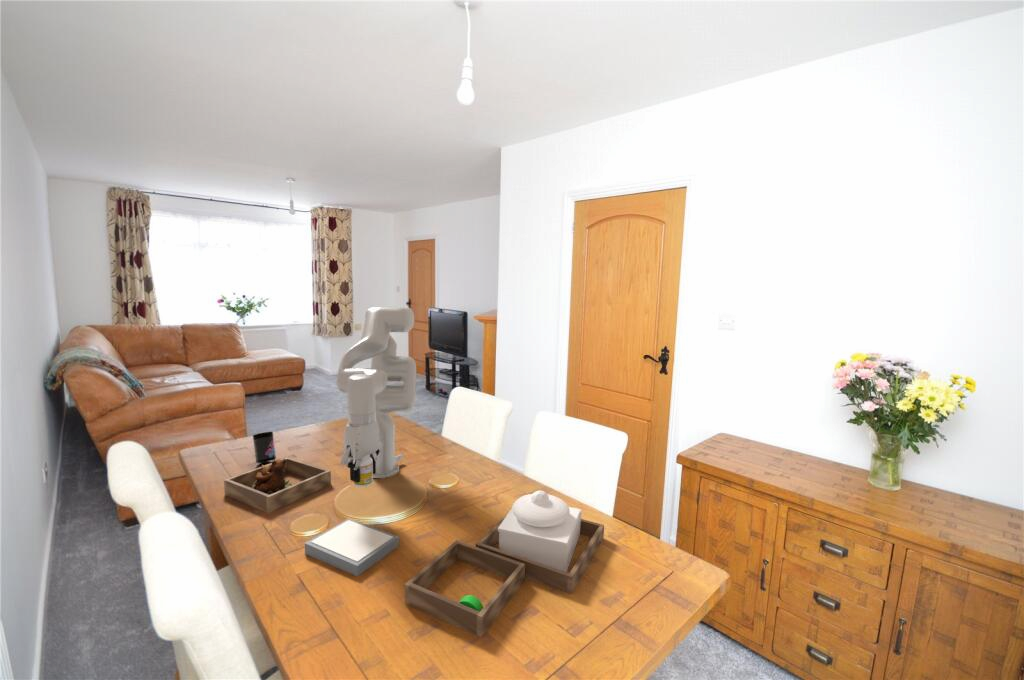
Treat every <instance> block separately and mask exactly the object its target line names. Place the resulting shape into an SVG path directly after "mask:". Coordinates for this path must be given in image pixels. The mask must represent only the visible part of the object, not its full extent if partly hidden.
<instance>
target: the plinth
mask: <svg viewBox="0 0 1024 680" xmlns="http://www.w3.org/2000/svg"><path fill="white" fill-rule="evenodd" d="M398 547H400V536H398V535H396V534H393V533H391V532H388V531H384V530H382V529H379V528H376V527H373V526H371V525H368V524H366V523H364V522H360V521H357V520H355V519H353V518H350V517H349V518H347V519H345V520H343V521H341V522H340V523H338V524H336V525H334V526H332V527H331V528H329V529H327V530H325V531H324V532H322V533H320V534H318V535H317V536H315V537H312V538H311V539H309V540H307V541H306V542H304V554H305V555H307V556H310V557H312V558H314V559H317V560H318V561H321V562H323V563H325V564H327V565H330V566H332V567H334V568H337V569H340V570H342V571H344V572H346V573H348V574H351V575H353V576H355V577H359V576H360V575H362V574H363V573H364V572H366V571H367V570H368V569H369V568H371V567H372V566H374V565H375V564H376V563H378V562H379V561H381V560H382V559H383V558H384V557H386V556H387V555H388V554H390V553H391V552H392V551H394V550H396V549H397V548H398Z"/></svg>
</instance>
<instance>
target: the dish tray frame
mask: <svg viewBox="0 0 1024 680" xmlns="http://www.w3.org/2000/svg"><path fill="white" fill-rule="evenodd" d="M505 517H506V516H504V517H503V518H502V519H501V520H499V522H498V523H497V524H496V525H494V527H492V529H490V530H489V531H488V532H487V533H486V534H484V535H483V536H482V537H481V538H480V540H478V541H477V542H476V543H475V547H478V548H480V549H483V550H486V551H489V552H492V553H495V554H498V555H501V556H503V557H506V558H509V559H512V560H515V561H518V562H521V563H524V564H525V579H526V580H531V581H533V582H536V583H539V584H542V585H544V586H547V587H549V588H553V589H554V590H555V589H556V590H558V591H562V592H563V593H567V594H570V595H572V594H573V592H574V590H575V588H576V587H577V585H578V583H579V582H580V580H581V578H582V576H583V575H584V573H585V571H586V569H587V568H588V566H589V564H590V563H591V561H592V559H593V557H594V556H595V554H596V552H597V551H598V549H599V547H600V546H601V544H602V542H603V540H604V535H605V524H602V523H598V522H594V521H590V520H587V519H583V518H581V528H580V535H582V536H587V537H590V541H588V544H587V545H586V547H585V548H584V550H583V551H582V553H581V554H580V555H579V558H578V559H577V561H576V562H575V564H574V566H573V567H572V568H571V570H570V572H568V571H567V572H564V571H561V570H558V569H555V568H552V567H549V566H547V565H544V564H541V563H538V562H535V561H532V560H529V559H526V558H523V557H520V556H517V555H514V554H511V553H508V552H506V551H503V550H500V549H499V548H496V547H495V546H496V545H497V543H499V531H498V527H499V526H500V524H501V523H502V522H503V520H504V519H505Z"/></svg>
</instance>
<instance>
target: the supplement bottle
mask: <svg viewBox="0 0 1024 680" xmlns="http://www.w3.org/2000/svg"><path fill="white" fill-rule="evenodd" d="M354 463H355V460H354V461H353V464H354ZM358 469H360V482H358V483H357V482H354V481H353V485H354V486H355V487H359V488H364V487H368V486H370V485H372V484H373V482H374V479H373V460H372V458H371V457H370V454H369V455H367V456H365V457H363V458H361V459H360V461H359V465H358Z"/></svg>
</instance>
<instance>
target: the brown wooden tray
mask: <svg viewBox="0 0 1024 680" xmlns="http://www.w3.org/2000/svg"><path fill="white" fill-rule="evenodd" d="M283 459H286V462H285V467H284V469H283V470H285V473H284V474H287V473H290V474H292V475H296V476H298V477H301V478H304V480H302V481H298V482H297V483H295V484H294V483H293V485H292V486H290V487H287V488H285V489H282V490H280V491H278V492H275V493H273V494H271V495H269V494H266V493H263V492H261V491H258V490H255V489H253V488H250V487H249V486H250V484H251V483H254V482H255V481H256V478H255V477H256V475H257V473H258V472H261V473H262V466H260V467H256V468H253V469H251V470H247V471H245V472H242V473H239V474H237V475H234V476H231V477H229V478H226V479H224V480H223V486H224V487H223V488H224V496H226V497H228V498H230V499H233V500H236V501H238V502H240V503H243V504H246V505H248V506H250V507H253V508H255V509H258V510H260V511H263V512H265V513H267V514H271V513H272V512H275V511H276V510H279V509H281V508H283V507H285V506H288V505H289V504H292V503H294V502H296V501H299V500H300V499H302V498H304V497H306V496H309V495H311V494H313V493H316V492H317V491H319V490H321V489H324V488H325V487H328V486H331V484H332V475H331V473H332V471H331V470H330V469H326V468H324V467H320V466H318V465H317V466H316V465H313V464H310V463H309V462H308V463H307V462H303V461H300V460H298V459H294V458H291V457H289V456H288V457H284V458H281V459H280V460H283ZM267 465H269V466H271V465H272V462H270V463H267V464H265V465H264V466H267Z"/></svg>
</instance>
